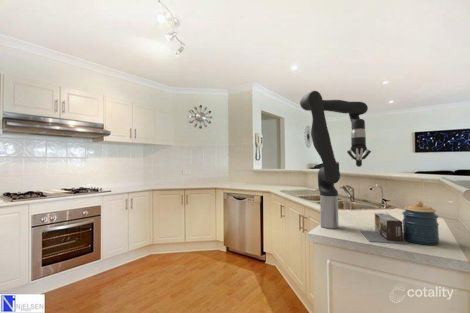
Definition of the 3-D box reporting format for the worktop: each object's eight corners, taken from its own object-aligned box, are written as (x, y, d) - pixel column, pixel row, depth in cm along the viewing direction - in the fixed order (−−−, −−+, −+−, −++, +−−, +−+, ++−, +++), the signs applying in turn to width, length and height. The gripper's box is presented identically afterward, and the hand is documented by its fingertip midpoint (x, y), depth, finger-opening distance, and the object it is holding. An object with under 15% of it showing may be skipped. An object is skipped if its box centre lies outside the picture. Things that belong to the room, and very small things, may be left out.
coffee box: (388, 231, 121) (403, 242, 105) (374, 230, 122) (387, 241, 107) (388, 213, 121) (403, 221, 105) (374, 212, 122) (386, 220, 107)
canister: (428, 247, 99) (427, 204, 99) (396, 238, 111) (395, 200, 111) (446, 243, 104) (444, 202, 105) (413, 234, 116) (412, 198, 117)
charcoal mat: (369, 241, 107) (369, 240, 107) (360, 231, 123) (360, 230, 123) (408, 244, 103) (408, 243, 103) (393, 233, 119) (393, 232, 119)
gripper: (347, 136, 139) (347, 166, 138) (372, 136, 135) (373, 166, 135) (345, 138, 146) (345, 166, 145) (369, 137, 142) (369, 166, 142)
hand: (358, 166), depth 140 cm, fingers closed
